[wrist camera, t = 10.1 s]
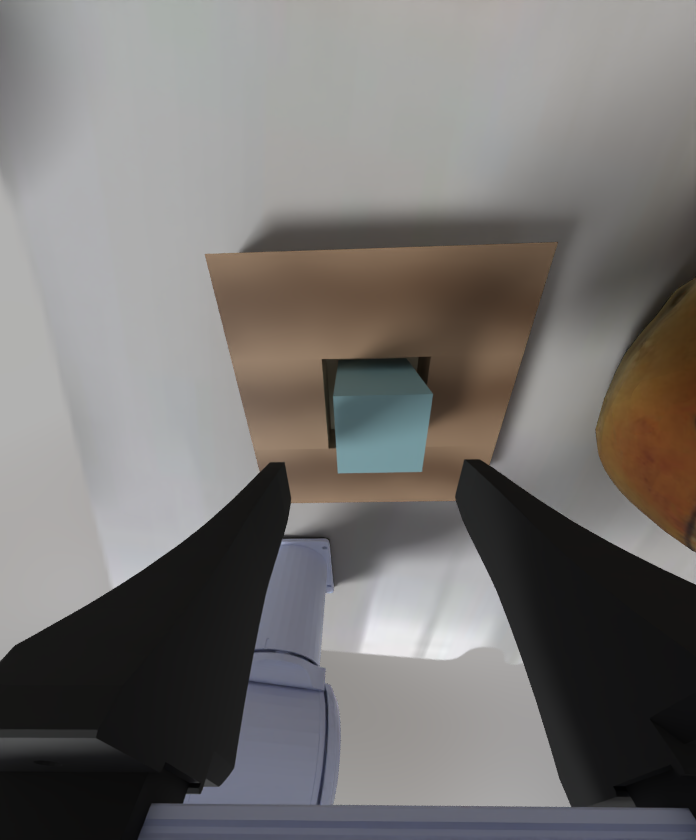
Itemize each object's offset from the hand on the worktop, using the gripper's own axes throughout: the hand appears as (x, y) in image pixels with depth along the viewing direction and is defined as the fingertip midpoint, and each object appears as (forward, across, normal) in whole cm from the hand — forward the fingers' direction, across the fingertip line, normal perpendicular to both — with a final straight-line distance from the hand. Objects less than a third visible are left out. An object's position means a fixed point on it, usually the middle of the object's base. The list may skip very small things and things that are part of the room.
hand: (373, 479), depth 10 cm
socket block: (+9, -1, 0) cm, 9 cm away
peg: (+8, -1, -1) cm, 8 cm away
